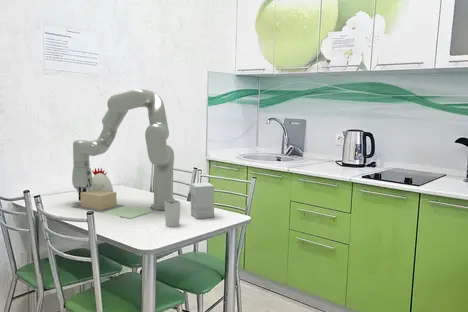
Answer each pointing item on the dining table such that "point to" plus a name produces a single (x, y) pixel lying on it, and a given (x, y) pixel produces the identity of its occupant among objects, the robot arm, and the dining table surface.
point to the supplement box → (202, 200)
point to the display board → (120, 211)
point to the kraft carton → (98, 199)
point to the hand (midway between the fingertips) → (82, 200)
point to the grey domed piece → (101, 181)
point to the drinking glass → (172, 212)
